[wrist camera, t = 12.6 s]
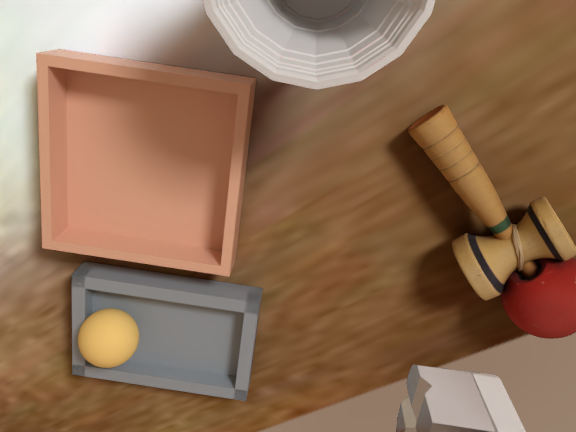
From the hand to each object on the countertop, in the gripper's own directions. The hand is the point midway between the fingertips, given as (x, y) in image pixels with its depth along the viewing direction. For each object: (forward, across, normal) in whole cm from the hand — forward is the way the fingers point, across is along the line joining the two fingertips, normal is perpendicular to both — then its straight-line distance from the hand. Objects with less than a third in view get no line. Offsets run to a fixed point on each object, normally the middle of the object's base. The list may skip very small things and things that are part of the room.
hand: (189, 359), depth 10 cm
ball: (+26, +11, +19) cm, 34 cm away
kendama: (+30, -15, +6) cm, 34 cm away
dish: (+29, +9, +6) cm, 31 cm away
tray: (+29, +7, +19) cm, 35 cm away
